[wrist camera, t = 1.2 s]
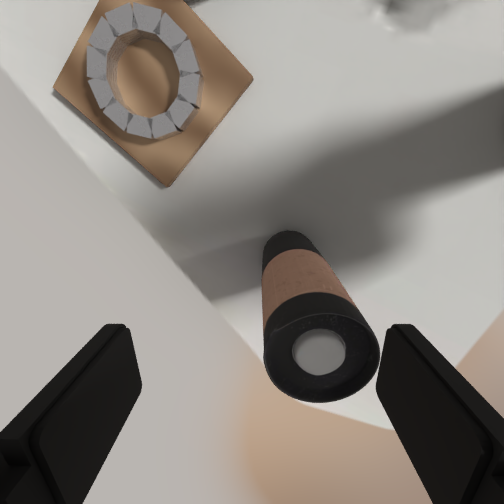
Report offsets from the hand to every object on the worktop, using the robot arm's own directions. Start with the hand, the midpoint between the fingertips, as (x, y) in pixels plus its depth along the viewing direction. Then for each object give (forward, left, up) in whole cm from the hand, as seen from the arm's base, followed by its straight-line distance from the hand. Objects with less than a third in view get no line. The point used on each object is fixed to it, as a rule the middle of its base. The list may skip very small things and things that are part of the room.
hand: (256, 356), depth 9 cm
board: (-3, -19, -25) cm, 32 cm away
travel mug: (+1, +7, -26) cm, 26 cm away
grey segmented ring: (-3, -19, -24) cm, 31 cm away
